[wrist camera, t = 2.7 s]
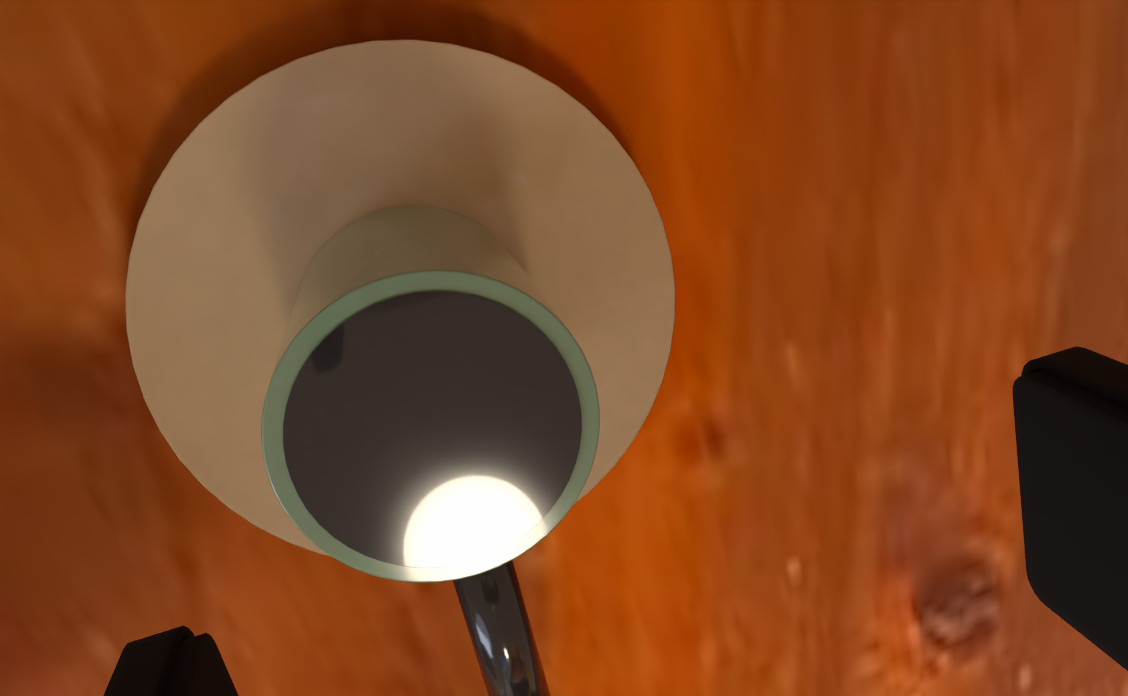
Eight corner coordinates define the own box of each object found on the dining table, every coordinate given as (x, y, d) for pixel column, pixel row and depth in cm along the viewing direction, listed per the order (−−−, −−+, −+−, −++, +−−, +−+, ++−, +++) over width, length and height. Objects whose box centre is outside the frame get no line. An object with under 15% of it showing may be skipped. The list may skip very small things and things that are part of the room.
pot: (40, 117, 23) (-148, 151, 15) (611, -18, 25) (735, -57, 16) (283, 713, 29) (250, 975, 21) (724, 571, 31) (856, 761, 23)
